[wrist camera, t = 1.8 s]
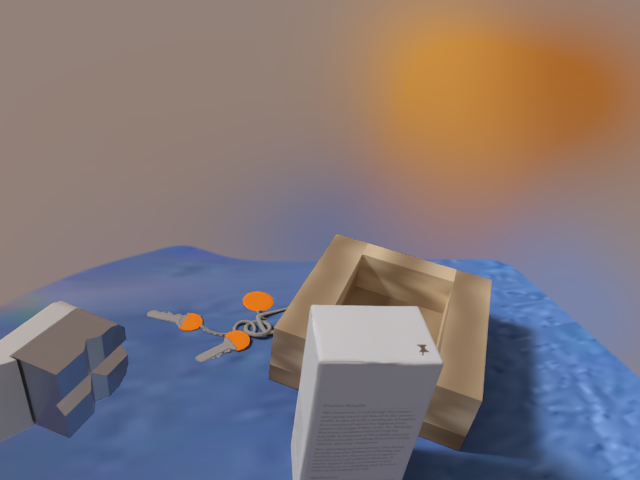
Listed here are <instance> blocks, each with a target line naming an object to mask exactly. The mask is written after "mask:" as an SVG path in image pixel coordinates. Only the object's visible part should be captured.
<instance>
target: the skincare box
mask: <svg viewBox="0 0 640 480" xmlns="http://www.w3.org/2000/svg"><path fill="white" fill-rule="evenodd" d="M443 365H444V362H443V360H442V358H441V356H440V353H439V351H438V349H437V347H436V345H435V343H434V341H433V338H432V336H431V334H430V332H429V329H428V327H427V325H426V322H425V320H424V318H423V316H422V314H421V312H420V310H419V308H418V307H417V306H359V305H311V307H310V313H309V320H308V327H307V335H306V342H305V348H304V356H303V363H302V370H301V378H300V385H299V392H298V399H297V406H296V413H295V420H294V427H293V434H292V441H291V456H292V474H293V480H402V479H403V476H404V473H405V470H406V468H407V465H408V462H409V459H410V456H411V454H412V451H413V448H414V445H415V443H416V440H417V437H418V435H419V432H420V429H421V426H422V423H423V420H424V417H425V415H426V412H427V409H428V406H429V404H430V401H431V398H432V395H433V393H434V390H435V387H436V384H437V382H438V379H439V376H440V373H441V371H442V368H443Z"/></svg>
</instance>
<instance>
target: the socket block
mask: <svg viewBox="0 0 640 480" xmlns="http://www.w3.org/2000/svg"><path fill="white" fill-rule="evenodd" d="M491 281H492V280H489V279H486V278H483V277H479V276H476V275H473V274H469V273H466V272H463V271H459V270H456V269H453V268H449V267H446V266H442V265H439V264H436V263H432V262H429V261H426V260H422V259H419V258H416V257H412V256H409V255H406V254H402V253H399V252H395V251H392V250H388V249H385V248H382V247H379V246H375V245H372V244H369V243H365V242H362V241H359V240H355V239H352V238H348V237H345V236H342V235H338V234H337V235H336V236H335V237H334V239H333V241H332V242H331V244H330V245H329V246H328V248H327V249H326V251H325V252H324V254H323V255H322V257H321V258H320V260H319V261H318V263H317V264H316V266H315V267H314V269H313V270H312V272H311V273H310V275H309V276H308V278H307V279H306V281H305V282H304V284H303V285H302V287H301V288H300V290H299V291H298V293H297V294H296V296H295V297H294V299H293V300H292V302H291V303H290V305H289V306H288V308H287V309H286V311H285V312H284V314H283V315H282V317H281V318H280V320H279V321H278V323H277V324H276V326H275V327H274V334H273V343H272V352H271V361H270V370H269V379H271V380H273V381H276V382H278V383H281V384H284V385H286V386H289V387H292V388H294V389H297V390H299V385H300V378H301V370H302V363H303V356H304V348H305V342H306V335H307V327H308V320H309V313H310V307H311V305H359V306H417V307H418V308H419V310H420V312H421V314H422V316H423V318H424V320H425V322H426V325H427V327H428V329H429V332H430V334H431V336H432V338H433V341H434V343H435V345H436V347H437V349H438V351H439V353H440V356H441V358H442V360H443V362H444V365H443V368H442V371H441V373H440V376H439V379H438V382H437V384H436V387H435V390H434V393H433V395H432V398H431V401H430V404H429V406H428V409H427V412H426V415H425V417H424V420H423V423H422V426H421V429H420V432H419V435H418V436H421V437H424V438H426V439H429V440H432V441H434V442H437V443H439V444H442V445H445V446H447V447H450V448H453V449H455V450H458V451H460V448H461V446H462V444H463V442H464V440H465V438H466V435H467V433H468V431H469V429H470V427H471V425H472V423H473V420H474V418H475V416H476V414H477V412H478V410H479V408H480V405H481V403H482V399H483V386H484V373H485V360H486V347H487V333H488V320H489V307H490V294H491Z"/></svg>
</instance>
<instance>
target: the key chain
mask: <svg viewBox="0 0 640 480" xmlns="http://www.w3.org/2000/svg"><path fill="white" fill-rule="evenodd" d="M243 304H244V305H245V307H247V308H248V309H250V310H253V311H257V315H256V319H257V320H253V321H249V320H241V321H239V322H237V323H236V324H235V325H234V327H233V331H231V332H229V333H217V332H213V331H211V330H208V329H207V328H205V327H204V326H203V325H202V323H203V319H202V318H201V316H199V315H197V314H195V313H187V314H186V315H183V316H181V315H182V314H179V315H178V314H176V315H173V313H171V312H168V313H165V312H164V311H163V312H157V311H158V310H154V311H153V310H151V311H150V312H148V314H147V316H148V317H152V318H157V319H161V320H166V321H170V322H175V323H177V325H178V326H179V329H181V330H183V331H193V330H196V329H198V328H202V330H203V331H207V333H209V334H211V333H212V335H218V336H224V338H225V339H224V343H222V344H220V345H218V346H216V347H214V348H212V349H210V350H208V351H206V352H204V353H202V354H200V355H198V356H197V357H196V360H198V361H200V362H203V361H205V360H208V359H210V358H212V359H214V357H215V356H217V357H218V358H219V357H221V355H222V353H223V352H224V353H227V352H228V353H229V352H231V351H230V350H234V351H237V352H238V351H242V350H244V349H246V348H247V347H248V346H249V343H250V337H251V336H253V337H263V336H265V335H270V334H274V330H272V327H271V325H270V324H269V323H268V322H266V321H263V320H261V319H264V320H265V319H267V318H263V317H265V315H269V314H273V313H276V312H280V311H284V310H286V309H287V308H288V307H286V308H282V309H278V310H274V311H270V312H266V313H264V312H265V310H268V309H269V308H271V307H272V305H273V298H272V297H271V296H270V295H269V294H267V293H264V292H257V291H255V292H250V293H248V294H247V295H245V297H244V298H243ZM259 312H263V313H260V314H259ZM242 323H247V324H246V325H245V327H244V331H245V332H246V333H245V332H243V331H238V330H236V329H237V326H238V325H240V324H242ZM254 323H258V325H259V327H260V329H261V330H262V333H255V332H256V326H255V324H254ZM263 324H264V325H266V326H267V327H268V330H266V329H265V327H264V325H263ZM250 325H252V327H253V331H252V332H251V331H249V330H248V327H249V326H250Z"/></svg>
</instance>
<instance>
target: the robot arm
mask: <svg viewBox="0 0 640 480" xmlns="http://www.w3.org/2000/svg"><path fill="white" fill-rule="evenodd" d="M125 340H126V334H125V327H123V326H121V325H118V324H116V323H114V322H111V321H109V320H106V319H104V318H102V317H99V316H97V315H95V314H92V313H90V312H88V311H85V310H83V309H80V308H78V307H75V306H73V305H70V304H68V303H66V302H63V301H59V302H55V303H52V304H50V305H49V306H48V307H46V308H45V309H43V310H42V311H41V312H39V313H38V314H36V315H35V316H34V317H32V318H31V319H29V320H28V321H26V322H25V323H24V324H22V325H21V326H19V327H18V328H17V329H15V330H14V331H12V332H11V333H10V334H8V335H7V336H5V337H4V338H3V339H1V340H0V442H1V441H3V440H5V439H8V438H10V437H12V436H14V435H16V434H18V433H20V432H22V431H24V430H26V429H28V428H30V427H33V426H34V423H35V424H37V425H39V426H42V427H44V428H46V429H49V430H51V431H53V432H56V433H58V434H61V435H63V436H65V437H68V438H70V437H71V436H72V435H73V434H74V433H75V432H76V431H77V430H78V429H79V428H80V427H81V426H82V425H83V424H84V423H85V422H86V421H87V420H88V419H89V418H90V417H91V416H92V415H93V414H94V409H95V402H97V401H100V400H102V399H105V398H108V397H110V396H111V395H112V393H113V392H114V391H115V390H116V389H117V388H118V387H119V386H120V384H121V382H122V380H123V378H124V376H125V375H126V372H127V367H128V354H127V353H126V351H125V350H124V348H123V347H122V345H121V344H122V343H123V342H124V341H125Z"/></svg>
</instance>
